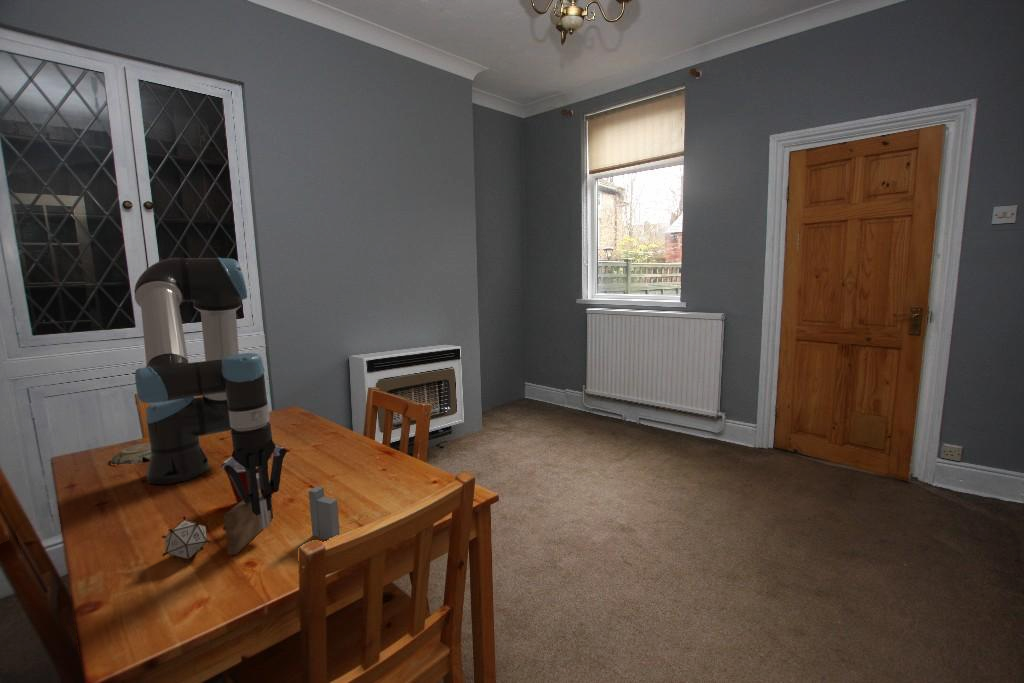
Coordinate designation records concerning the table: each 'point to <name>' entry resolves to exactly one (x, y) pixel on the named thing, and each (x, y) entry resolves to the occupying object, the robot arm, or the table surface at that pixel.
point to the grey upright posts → (321, 513)
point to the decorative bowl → (132, 454)
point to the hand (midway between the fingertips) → (264, 525)
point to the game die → (186, 539)
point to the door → (242, 525)
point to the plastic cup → (243, 477)
